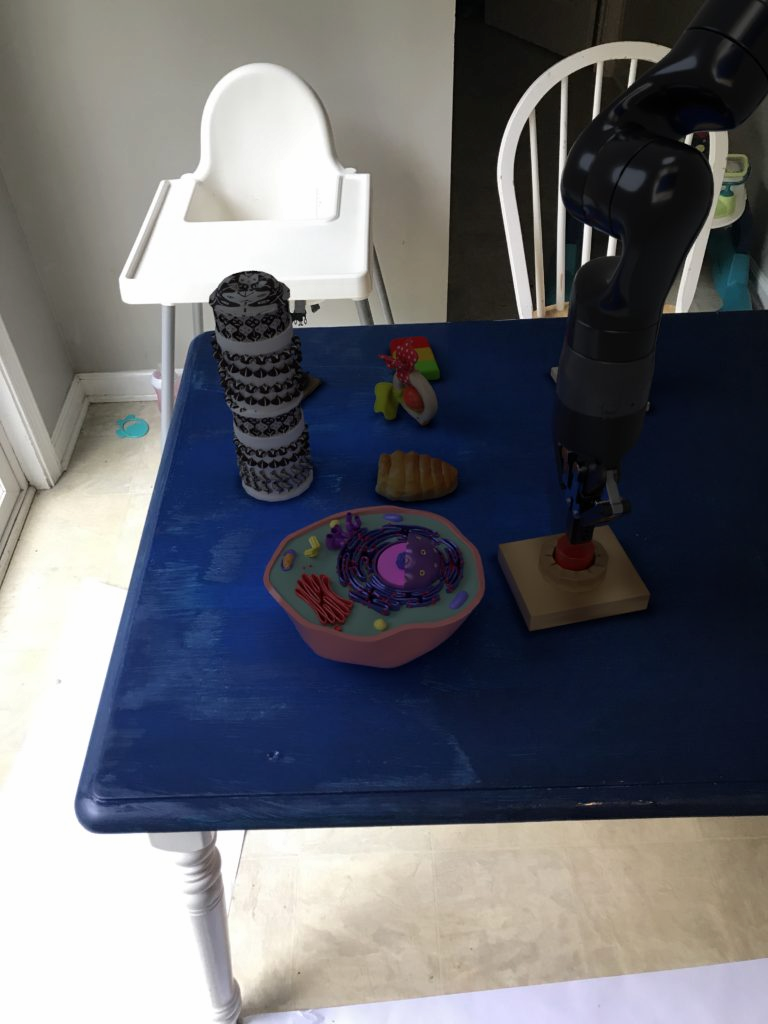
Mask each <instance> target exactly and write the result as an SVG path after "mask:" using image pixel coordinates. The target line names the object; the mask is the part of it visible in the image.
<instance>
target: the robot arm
mask: <svg viewBox="0 0 768 1024" xmlns="http://www.w3.org/2000/svg"><path fill="white" fill-rule="evenodd" d="M767 97H768V0H705V2H704V3H703V4H702V6H701V7H700V9H699V10H698V11H697V13H696V14H695V15H694V17H693V18H692V19H691V21H690V22H689V24H688V25H687V26H686V28H685V29H684V31H683V32H682V34H681V35H680V36H679V38H678V39H677V40H676V41H675V44H674V45H673V46H672V48H671V49H670V51H668V52H667V54H666V55H665V56H663V57H662V58H661V59H659V60H658V61H657V62H656V63H655V64H654V65H652V66H651V67H650V68H649V69H647V70H646V71H645V72H643V73H642V74H641V75H640V76H639V77H637V78H636V79H635V80H634V81H633V82H632V84H630V85H629V86H628V87H627V88H625V90H624V91H622V92H620V94H619V95H618V96H617V97H615V99H613V100H612V101H611V102H610V103H609V104H608V105H606V106H605V108H603V109H602V110H601V111H599V113H598V114H597V115H595V117H594V118H593V119H592V120H591V121H590V122H589V123H588V124H587V126H586V127H584V129H583V130H582V131H581V133H580V134H579V135H578V137H577V138H576V140H575V141H574V142H573V145H571V147H570V150H569V151H568V155H567V156H566V158H565V161H564V165H563V167H562V171H561V176H560V184H559V188H560V189H559V191H560V192H559V193H560V199H561V201H562V204H563V206H564V208H565V210H566V211H567V212H568V214H570V216H571V217H573V218H574V219H575V220H577V221H579V222H580V223H582V224H583V225H586V226H587V227H590V228H592V229H594V230H597V231H599V232H601V233H603V234H605V235H607V236H608V237H611V238H612V239H615V240H617V241H619V242H621V255H605V256H599V257H596V258H593V259H590V260H588V261H586V262H585V263H584V264H582V265H581V266H579V268H578V269H577V271H576V272H575V274H574V276H573V279H572V283H571V287H570V292H569V297H568V298H569V299H568V308H567V316H566V318H567V319H566V321H567V324H566V323H565V333H564V338H563V344H562V347H561V350H560V353H559V358H558V364H557V367H558V372H557V380H556V382H555V390H554V399H553V405H552V416H551V425H550V426H551V427H550V428H551V436H552V443H553V450H554V456H555V462H556V470H557V477H558V485H559V487H560V489H561V490H562V491H564V490H565V496H564V497H565V500H564V501H565V504H566V506H567V508H568V509H567V515H566V523H565V529H564V533H565V534H566V536H567V537H568V539H569V541H570V543H571V544H572V545H577V544H582V543H587V542H591V540H592V538H593V532H594V528H595V527H596V526H597V525H603V524H607V523H612V522H614V521H615V520H617V519H620V518H622V517H624V516H627V515H629V514H631V513H632V503H631V501H630V499H629V498H623V497H622V496H621V495H620V493H619V492H620V491H619V488H618V484H619V483H620V482H621V481H622V477H623V469H622V462H623V461H622V459H623V458H624V457H625V456H626V455H627V454H628V453H629V452H630V451H631V450H632V449H634V448H635V447H636V445H637V444H638V443H639V441H640V439H641V437H642V432H643V427H644V421H645V417H646V413H647V411H646V409H647V404H648V401H649V399H650V394H651V388H652V385H653V379H654V373H655V367H656V351H657V343H658V340H659V335H660V329H661V325H662V320H663V314H664V309H665V303H666V300H667V298H668V296H669V294H670V293H671V290H672V287H673V286H674V284H675V282H676V280H677V278H678V276H679V274H680V272H681V270H682V268H683V265H684V264H685V261H686V259H687V258H688V256H689V254H690V252H691V250H692V248H693V246H694V244H695V243H696V241H697V239H698V238H699V236H700V234H701V232H702V231H703V228H704V227H705V224H706V222H707V221H708V218H709V216H710V213H711V210H712V207H713V203H714V196H715V180H714V173H713V169H712V166H711V164H710V161H709V159H708V157H707V156H706V155H705V154H704V153H703V152H702V151H701V150H699V149H698V148H696V147H695V146H694V145H690V144H689V143H686V142H683V141H681V140H682V139H683V138H685V137H687V136H688V135H689V136H690V135H692V134H696V133H721V132H730V131H734V130H736V129H738V128H740V127H742V126H743V125H744V124H746V122H747V121H749V119H750V118H751V117H752V116H753V115H754V114H755V113H756V111H757V110H758V109H759V108H760V106H761V105H762V104H763V103H764V101H765V100H766V98H767Z"/></svg>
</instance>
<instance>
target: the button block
mask: <svg viewBox="0 0 768 1024" xmlns="http://www.w3.org/2000/svg"><path fill="white" fill-rule="evenodd" d="M563 535H566V534H565V532H562V533H557V534H551V535H550V534H549V535H545V536H537V537H534V538H527V539H522V540H516V541H511V542H510V541H509V542H505V543H500V544H499V543H498V548H497V549H498V551H497V561H498V563H499V566H500V568H501V570H502V572H503V575H504V577H505V579H506V582H507V584H508V587H509V589H510V590H511V593H512V595H513V597H514V600H515V602H516V604H517V606H518V610H519V611H520V613H521V615H522V618H523V620H524V622H525V625H526V628H527V629H528V631H529V632H534V631H538V630H545V629H549V628H555V627H561V626H565V625H569V624H575V623H580V622H586V621H591V620H597V619H602V618H607V617H611V616H616V615H617V616H618V615H621V614H626V613H632V612H637V611H643V610H647V608H648V604H649V600H650V597H651V593H650V591H649V590H648V588H647V586H646V584H645V583H644V581H643V579H642V577H641V576H640V574H639V573H638V571H637V569H636V568H635V566H634V564H633V563H632V561H631V559H630V558H629V556H628V555H627V553H626V551H625V550H624V547H623V546H622V544H621V543H620V542H619V539H618V538H617V536H616V535H615V533H614V532H613V530H612V528H611V527H610V525H609V524H606V525H602V526H594V532H593V538H592V540H591V541H592V542H593V544H594V547H595V550H594V555H593V561H592V564H591V565H590V567H588V568H587V569H585V570H582V571H572V570H567V569H564V568H562V567H561V566H560V565H559V564H558V563H557V561H556V559H555V553H556V547H557V542H558V540H559V539H560V538H561V537H562V536H563Z"/></svg>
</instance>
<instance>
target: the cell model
mask: <svg viewBox="0 0 768 1024" xmlns="http://www.w3.org/2000/svg"><path fill="white" fill-rule="evenodd" d="M262 577H263V578H262V580H263V584H264V587H265V588H266V590H267V591H268V593H269V595H271V597H273V599H274V600H275V601H276V603H278V605H279V606H280V607H281V608H282V609H283V611H284V612H285V614H286V615H287V617H288V618H289V619H290V621H291V622H292V624H293V625H294V628H295V629H296V630H297V632H298V634H299V636H300V638H301V639H302V641H303V642H304V644H305V645H307V646H308V647H309V648H310V650H312V651H313V653H314V654H316V656H319V657H320V658H323V659H326V660H330V661H333V662H338V663H344V664H351V665H357V666H358V665H359V666H365V667H370V668H371V667H372V668H378V669H393V668H399V667H401V666H404V665H406V664H408V663H411V662H412V661H414V660H415V659H418V658H419V657H422V656H424V655H425V654H428V653H430V652H431V651H433V650H435V649H436V648H438V647H439V646H441V645H442V644H443V643H445V642H446V641H447V640H448V639H449V638H451V636H453V634H455V633H456V632H457V630H458V629H459V628H460V627H461V626H462V625H463V624H464V623H465V622H466V620H467V619H468V618H469V617H470V615H471V614H472V613H473V611H474V610H475V609H476V608H477V606H478V605H479V604H480V603H481V601H482V598H483V597H484V595H485V591H486V579H485V571H484V567H483V562H482V557H481V555H480V552H479V550H478V548H477V547H476V546H475V544H474V543H472V542H471V541H470V540H469V539H468V538H467V537H466V536H465V535H464V534H463V533H462V532H461V531H460V530H459V528H457V526H456V525H455V524H454V523H453V522H452V521H450V520H449V519H447V518H446V517H444V516H442V515H440V514H437V513H434V512H431V511H427V510H420V509H413V508H407V507H401V506H396V505H374V506H367V507H358V508H353V509H350V510H349V509H348V510H344V511H340V512H337V513H334V514H331V515H329V516H326V517H323V518H321V519H319V520H316V521H314V522H312V523H310V524H308V525H306V526H304V527H301V528H299V529H298V530H296V531H294V532H292V533H290V534H288V535H286V536H285V537H284V538H283V539H282V540H281V541H280V543H279V545H278V546H277V547H276V549H275V551H274V552H273V554H272V556H271V558H270V560H269V561H268V563H267V565H266V566H265V568H264V574H263V576H262Z"/></svg>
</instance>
